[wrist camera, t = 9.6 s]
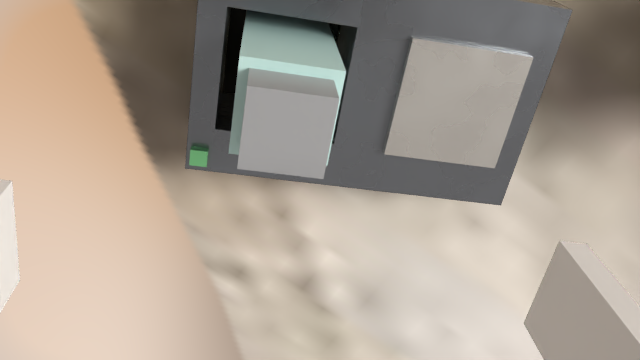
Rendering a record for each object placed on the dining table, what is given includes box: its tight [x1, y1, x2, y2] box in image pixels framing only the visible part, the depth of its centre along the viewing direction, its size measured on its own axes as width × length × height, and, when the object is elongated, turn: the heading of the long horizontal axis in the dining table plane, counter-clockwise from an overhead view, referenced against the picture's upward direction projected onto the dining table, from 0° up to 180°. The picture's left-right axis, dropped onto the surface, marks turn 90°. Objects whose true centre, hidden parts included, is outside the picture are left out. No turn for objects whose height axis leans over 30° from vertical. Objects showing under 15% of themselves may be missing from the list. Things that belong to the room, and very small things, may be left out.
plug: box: [228, 10, 346, 179], centre depth 26 cm, size 4×4×11 cm
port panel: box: [185, 0, 572, 205], centre depth 29 cm, size 10×16×5 cm, turn 80°
